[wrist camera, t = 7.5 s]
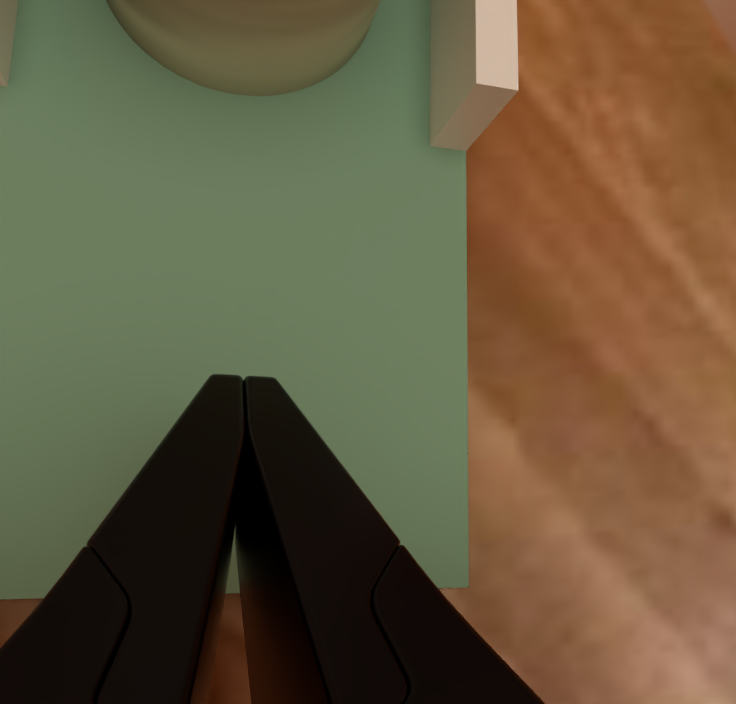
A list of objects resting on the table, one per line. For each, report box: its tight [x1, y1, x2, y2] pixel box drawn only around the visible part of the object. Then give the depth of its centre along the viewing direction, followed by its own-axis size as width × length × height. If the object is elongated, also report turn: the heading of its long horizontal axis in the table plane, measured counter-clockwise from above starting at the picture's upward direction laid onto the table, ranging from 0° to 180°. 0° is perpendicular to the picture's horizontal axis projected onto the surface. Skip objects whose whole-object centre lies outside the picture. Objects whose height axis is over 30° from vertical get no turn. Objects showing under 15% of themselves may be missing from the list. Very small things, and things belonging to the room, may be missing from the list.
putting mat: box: [0, 0, 469, 599], centre depth 17 cm, size 22×12×1 cm, turn 179°
